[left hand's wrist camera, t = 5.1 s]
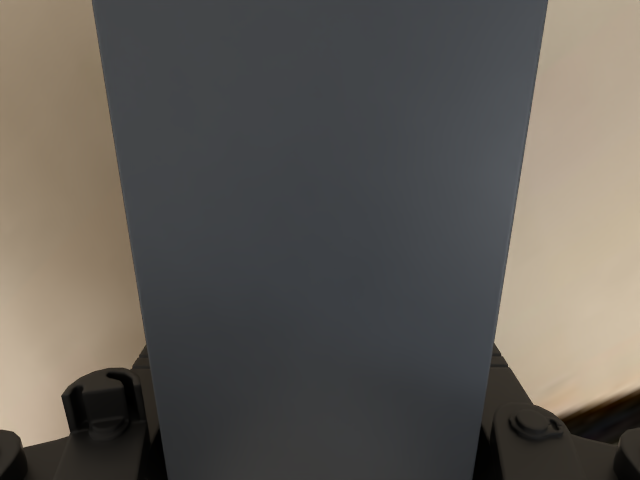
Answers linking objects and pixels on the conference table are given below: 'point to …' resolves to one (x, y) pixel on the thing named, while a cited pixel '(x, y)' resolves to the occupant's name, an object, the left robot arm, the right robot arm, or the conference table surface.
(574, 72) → the conference table surface
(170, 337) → the bar
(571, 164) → the conference table surface
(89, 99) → the conference table surface
